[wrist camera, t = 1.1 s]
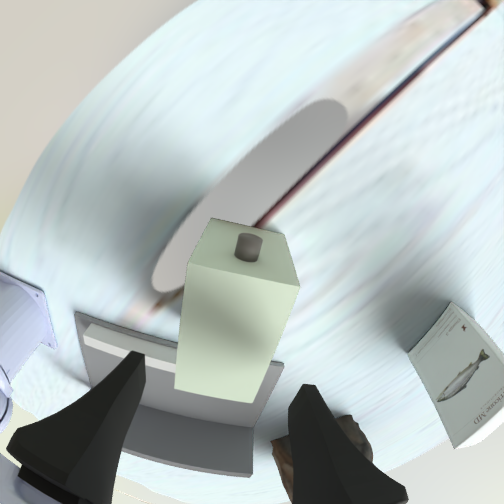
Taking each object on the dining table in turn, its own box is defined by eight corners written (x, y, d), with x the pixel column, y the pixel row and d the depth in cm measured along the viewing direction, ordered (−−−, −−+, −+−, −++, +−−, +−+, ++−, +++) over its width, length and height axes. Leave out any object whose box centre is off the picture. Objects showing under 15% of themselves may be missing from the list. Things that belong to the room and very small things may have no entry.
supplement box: (450, 298, 20) (523, 386, 9) (476, 320, 22) (533, 392, 10) (403, 354, 23) (452, 451, 11) (436, 366, 24) (478, 445, 13)
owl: (357, 407, 26) (393, 551, 8) (379, 435, 30) (406, 539, 12) (267, 440, 29) (270, 571, 11) (306, 462, 33) (316, 562, 15)
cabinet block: (192, 322, 21) (174, 388, 15) (214, 203, 17) (191, 241, 11) (252, 335, 22) (252, 403, 15) (288, 220, 18) (307, 267, 11)
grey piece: (95, 390, 26) (75, 432, 20) (76, 311, 21) (39, 358, 15) (250, 429, 28) (249, 477, 21) (283, 363, 23) (290, 427, 16)
